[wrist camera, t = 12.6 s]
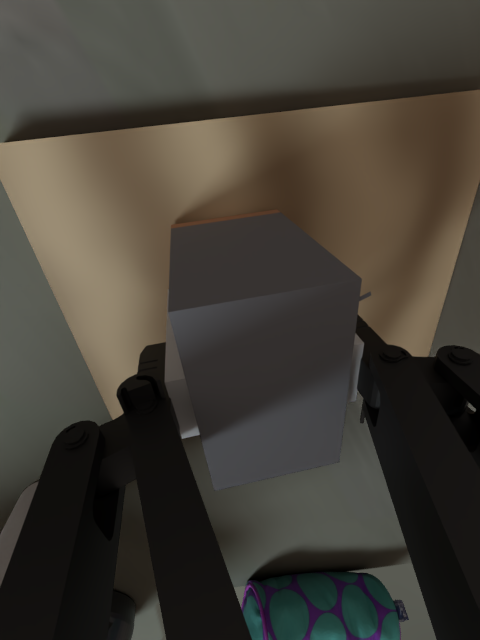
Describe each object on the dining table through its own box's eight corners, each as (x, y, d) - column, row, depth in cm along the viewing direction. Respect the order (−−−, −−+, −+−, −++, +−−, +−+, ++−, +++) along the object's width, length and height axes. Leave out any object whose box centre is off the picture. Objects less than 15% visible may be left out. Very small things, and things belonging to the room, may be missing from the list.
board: (118, 407, 22) (115, 425, 20) (2, 142, 13) (-16, 145, 12) (413, 349, 24) (426, 361, 23) (479, 89, 15) (507, 86, 14)
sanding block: (281, 344, 19) (339, 462, 12) (200, 359, 19) (214, 491, 12) (277, 209, 15) (362, 278, 8) (170, 224, 14) (167, 312, 8)
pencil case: (382, 558, 46) (427, 650, 38) (351, 586, 50) (386, 675, 41) (252, 564, 39) (273, 678, 31) (228, 596, 43) (241, 705, 35)
